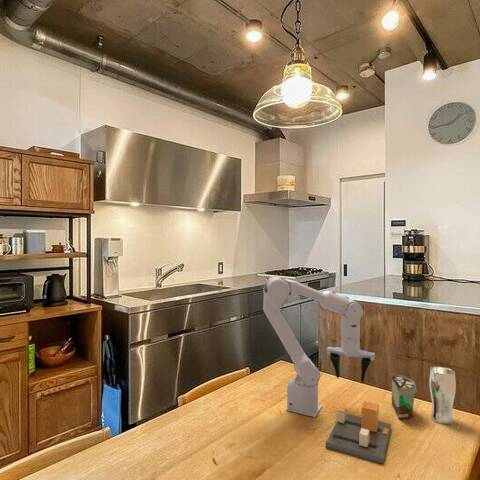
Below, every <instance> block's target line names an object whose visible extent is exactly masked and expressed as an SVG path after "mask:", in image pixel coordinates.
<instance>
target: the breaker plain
mask: <svg viewBox="0 0 480 480" xmlns="http://www.w3.org/2000/svg"><path fill="white" fill-rule="evenodd" d="M368 444H369V430H367V429H363V428H361V430H360V433H359V445H361V446H364V447H368Z"/></svg>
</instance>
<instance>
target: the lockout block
mask: <svg viewBox="0 0 480 480" xmlns="http://www.w3.org/2000/svg"><path fill="white" fill-rule="evenodd" d="M379 407H380V406H379V404H376V403H372V402H368V401H363V404H362V405H361V415H360V417H361V428H363V429H367V430H369V431H373V432H377V429H378V426H379V420H380V419H379V418H380V417H379V415H380V412H379V411H380V409H379Z"/></svg>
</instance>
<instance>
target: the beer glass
mask: <svg viewBox="0 0 480 480" xmlns="http://www.w3.org/2000/svg"><path fill="white" fill-rule="evenodd" d="M428 379H429V385H428V386H429V392H430V399H431V406H432V407H431V413H430V418H431V420H432V421H433V422H434V423H435V422H436V423H437V424H439V425H449V426H450V425H452V424H454V415H453V406H454V401H455V398H456V397H455V396H456V390H457V386H456V385H457V384H456V383H457V380H456V371H454V370H453V369H451V368H449V367H445V366H444V367H443V366H431V367H430V369H429V378H428Z"/></svg>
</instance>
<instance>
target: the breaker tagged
mask: <svg viewBox="0 0 480 480" xmlns="http://www.w3.org/2000/svg"><path fill="white" fill-rule="evenodd" d="M346 414H347V407H345V406H343V405H339V406H338V408H337V409H336V415H337V416H336V422H341V423H344V422H345V420H346Z"/></svg>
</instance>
